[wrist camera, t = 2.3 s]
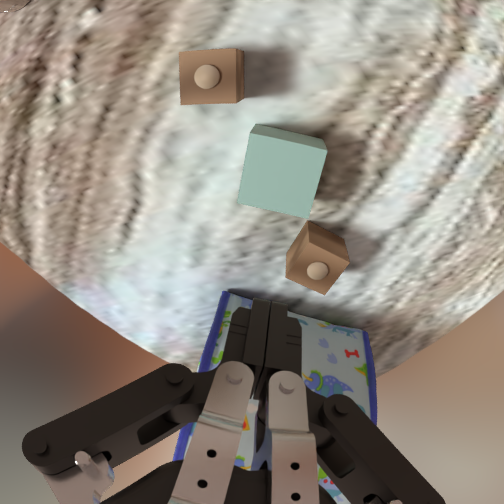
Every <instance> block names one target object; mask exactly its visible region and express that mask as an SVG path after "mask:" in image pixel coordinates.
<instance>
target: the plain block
mask: <svg viewBox="0 0 504 504" xmlns="http://www.w3.org/2000/svg"><path fill="white" fill-rule="evenodd" d="M326 154H327V148H326V146H325V144H324V141H323V139H319V138H315V137H311V136H307V135H303V134H299V133H295V132H291V131H286V130H282V129H277V128H273V127H268V126H263V125H258V124H255V126H254V127H253V129H252V130H251V132H250V135H249V140H248V146H247V151H246V156H245V161H244V167H243V172H242V178H241V183H240V188H239V194H238V199H237V203H239V204H243V205H248V206H253V207H257V208H262V209H266V210H271V211H276V212H280V213H284V214H289V215H293V216H298V217H302V218H306V219H308V218H309V214H310V211H311V207H312V204H313V200H314V197H315V194H316V190H317V187H318V183H319V180H320V176H321V172H322V169H323V165H324V162H325V158H326Z"/></svg>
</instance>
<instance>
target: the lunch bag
mask: <svg viewBox="0 0 504 504" xmlns="http://www.w3.org/2000/svg"><path fill="white" fill-rule="evenodd" d="M252 301H253V300H250V299H247V298H244V297H241V296H237V295H235V294H232V293H229V292H227V291H222V295H221V297H220V300H219V304H218V308H217V311H216V315H215V318H214V321H213V324H212V327H211V330H210V333H209V336H208V339H207V341H206V344H205V347H204V350H203V353H202V356H201V359H200V361H199V365H198V370H197V372H207V371H210V370H213V369H214V368H216V367H217V366H218V365H219V364H220V362H221V359H222V355H223V351H224V347H225V343H226V338H227V334H228V330H229V326H230V321H231V317H232V314H233V313H234V311H235V310H236V309H237V308H238V307H243V308H248V309H251V305H252ZM288 317H293V318H297V319H298V321H299V323H300V325H301V327H302V379H303V381H304V383H305V385H306V386H307V387H308V388H309V389H311V390H312V391H314V392H316V393H318V394H320V395H322V396H325V397H327V398H328V397H329V396H331V395H333V394H343V395H346V396H348V397H350V398H351V399H352V400H353V401H354V402H355V403H356V404H357V405H358V406H359V407H360V408H361V410H362V411H363V412H364V413H365V414H366V415H367V416H368V417H369V418H370V420H371V421H372V422H373V423H374V424H375V425H377V395H376V375H375V367H374V361H373V355H372V351H371V346H370V342H369V336H368V333H367V332H366V331H363V330H361V329H357V328H351V327H346V326H335V325H333V324H331V323H328V322H325V321H321V320H317V319H314V318H310V317H306V316H303V315H299V314H295V313H292V312H289V311H288ZM253 394H254V393H253ZM258 403H259V400H254V399H253V395H252V398H251V399H249V403H248V407H247V411H246V415H245V419H244V423H243V431H242V435H241V439H240V443H239V447H238V451H237V455H236V459H235V462H234V465H236V466H238V467H240V468H243V469H245V470H249V471H250V470H251V464H252V460H253V452H254V428H255V415H256V412H257V410H258ZM196 424H197V422H194V423H188V424H187V425H186V426H184V427H183V428H181V430H180V433H179V438H178V441H177V445H176V448H175V453H174V457H173V461H176V460H182V459H184V458H185V455H186V452H187V450H188V447H189V444H190V441H191V438H192V435H193V432H194V430H195V427H196ZM317 469H318V484H319V485H321V486H322V487H323V488H324V489H325V490H326V491H327V492H328V493H329V494H330V495H331V497H332V498H333V499H334V500H335V502H336V503H337V504H351V503H350V502H349V501H348V500H347V498H346V497H345V496H344V495H343V494H342V493H341V491H340V490H339V489H338V488H337V487H336V485H335V484H334V483H333V482H332V481H331V479H330V478H329V477H328V476H327V475H326V473H325V472H324V471H323V470H322V469H321V467H320V466H319V465H318V464H317Z"/></svg>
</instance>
